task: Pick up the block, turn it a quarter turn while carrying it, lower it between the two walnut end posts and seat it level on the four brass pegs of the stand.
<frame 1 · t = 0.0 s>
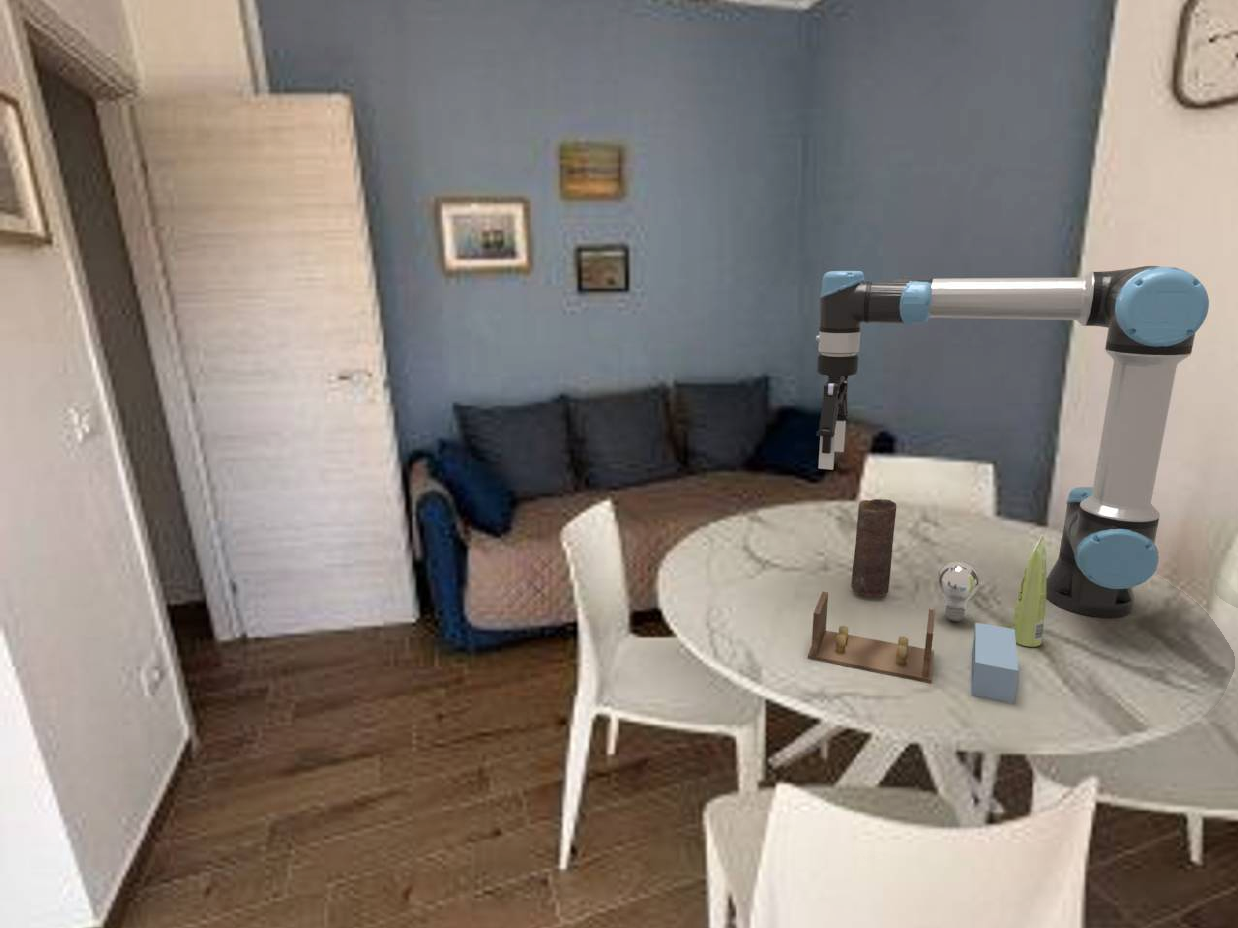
hand: (831, 459, 147), 28 cm above the table, fingers open, 13 cm apart
peg stand: (870, 655, 128), on the table
tube: (1026, 641, 132), on the table
block: (991, 677, 122), on the table
brown rusty cylinder: (869, 594, 151), on the table
light bulb: (953, 621, 140), on the table
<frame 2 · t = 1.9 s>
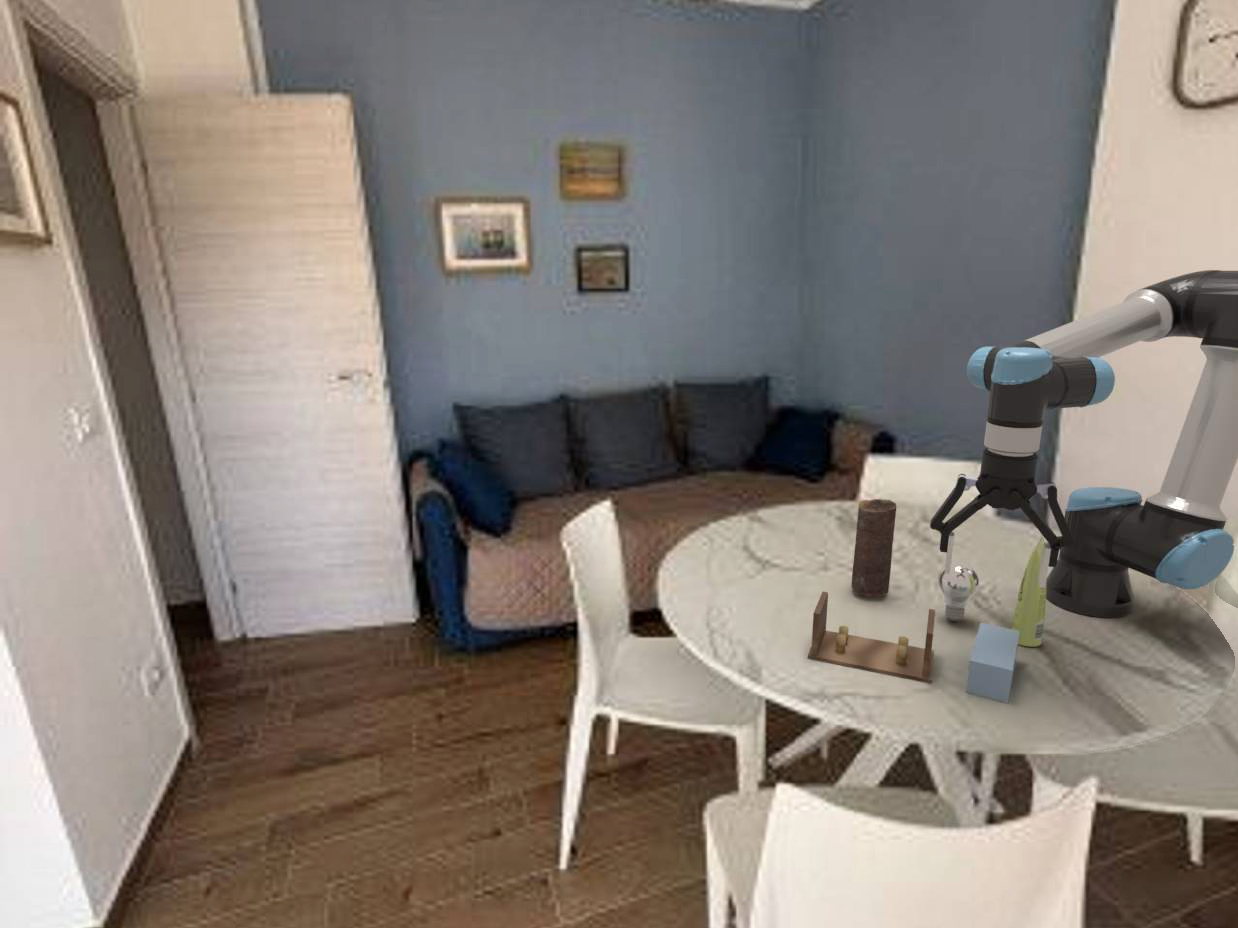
hand: (993, 577, 118), 17 cm above the table, fingers open, 13 cm apart
nothing on the table moved.
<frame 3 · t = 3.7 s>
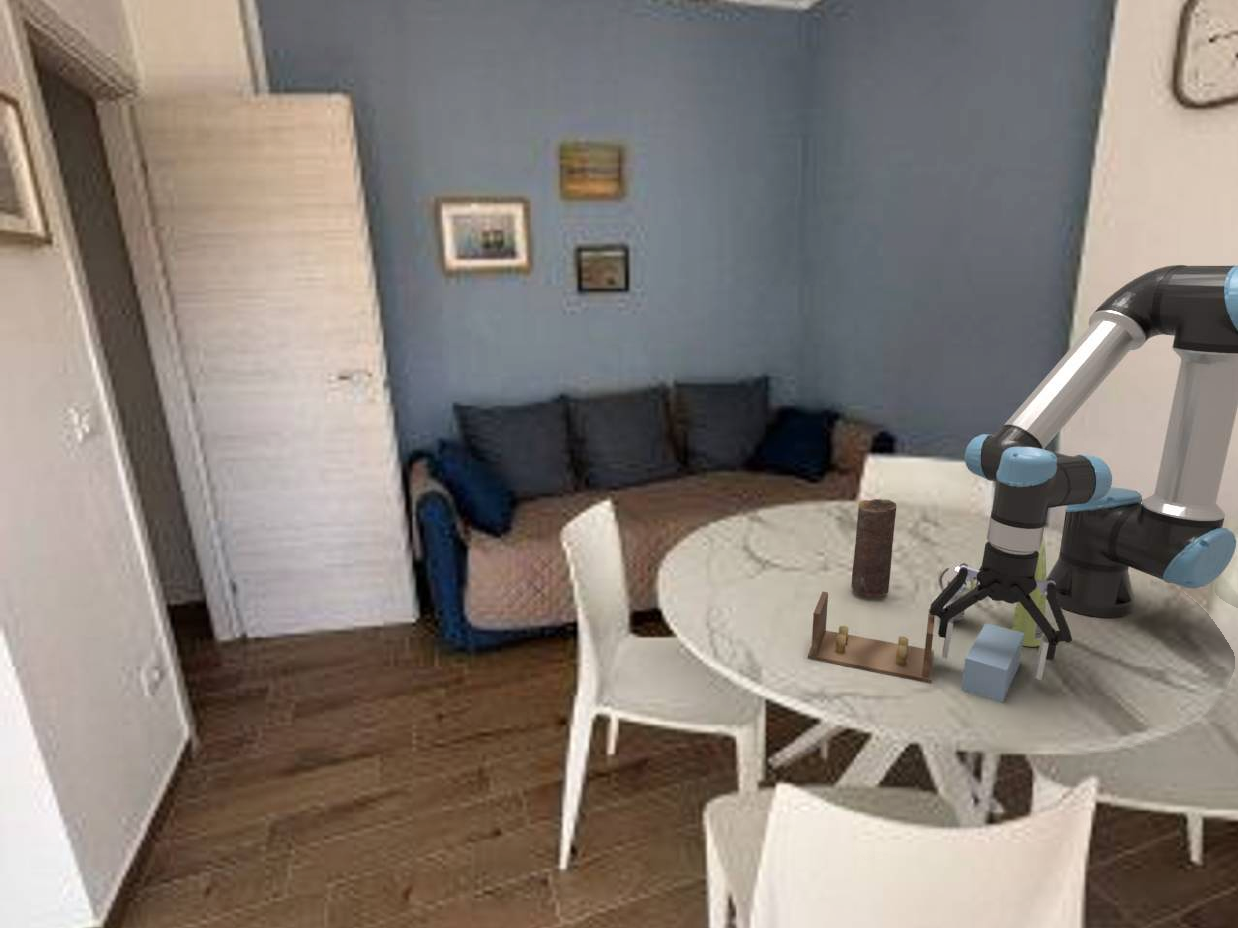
hand: (990, 665, 121), 2 cm above the table, fingers open, 13 cm apart
nothing on the table moved.
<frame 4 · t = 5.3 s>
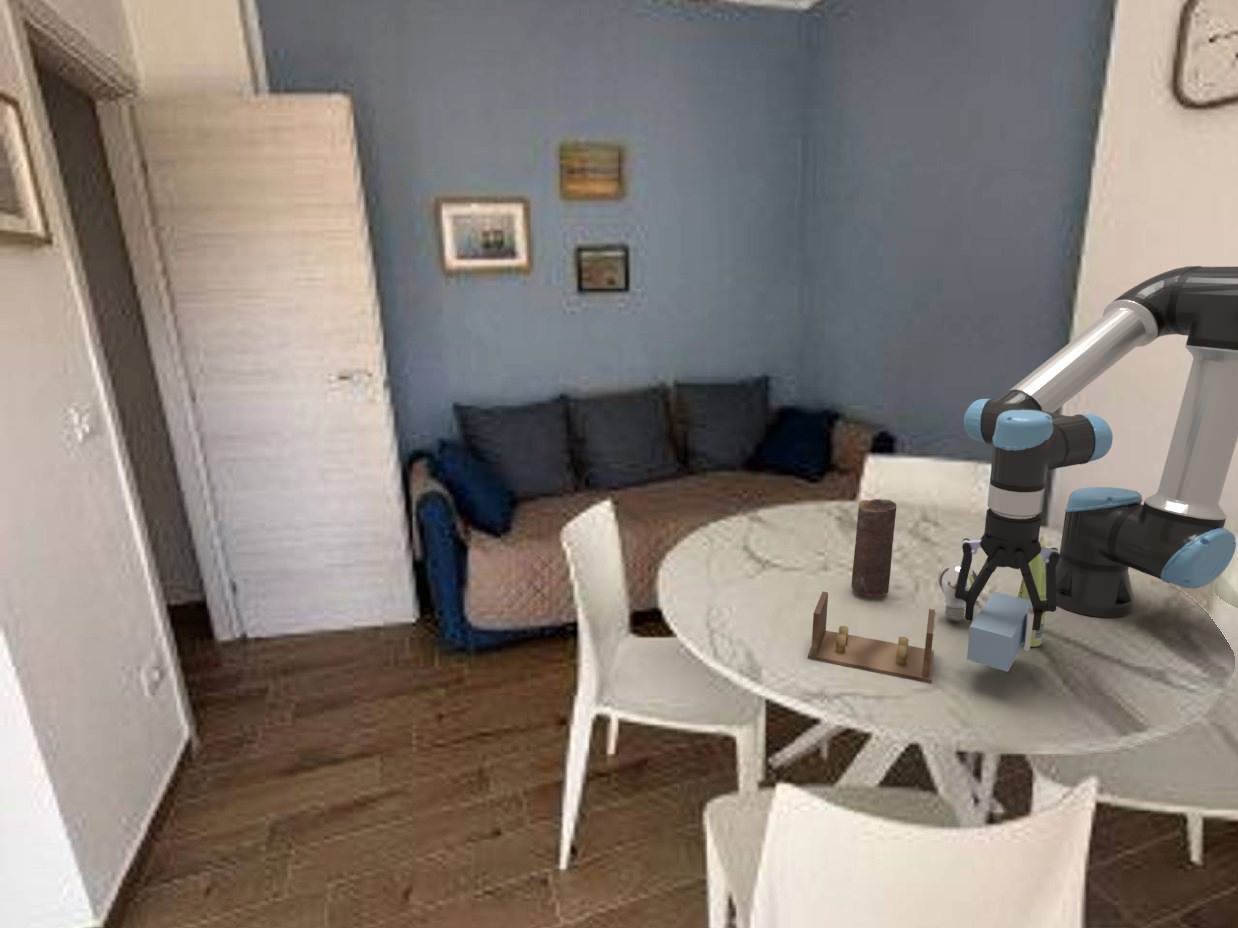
hand: (999, 641, 120), 6 cm above the table, fingers closed on block, 7 cm apart
block: (999, 645, 120), point 5 cm above the table, touching gripper
everything else where it was.
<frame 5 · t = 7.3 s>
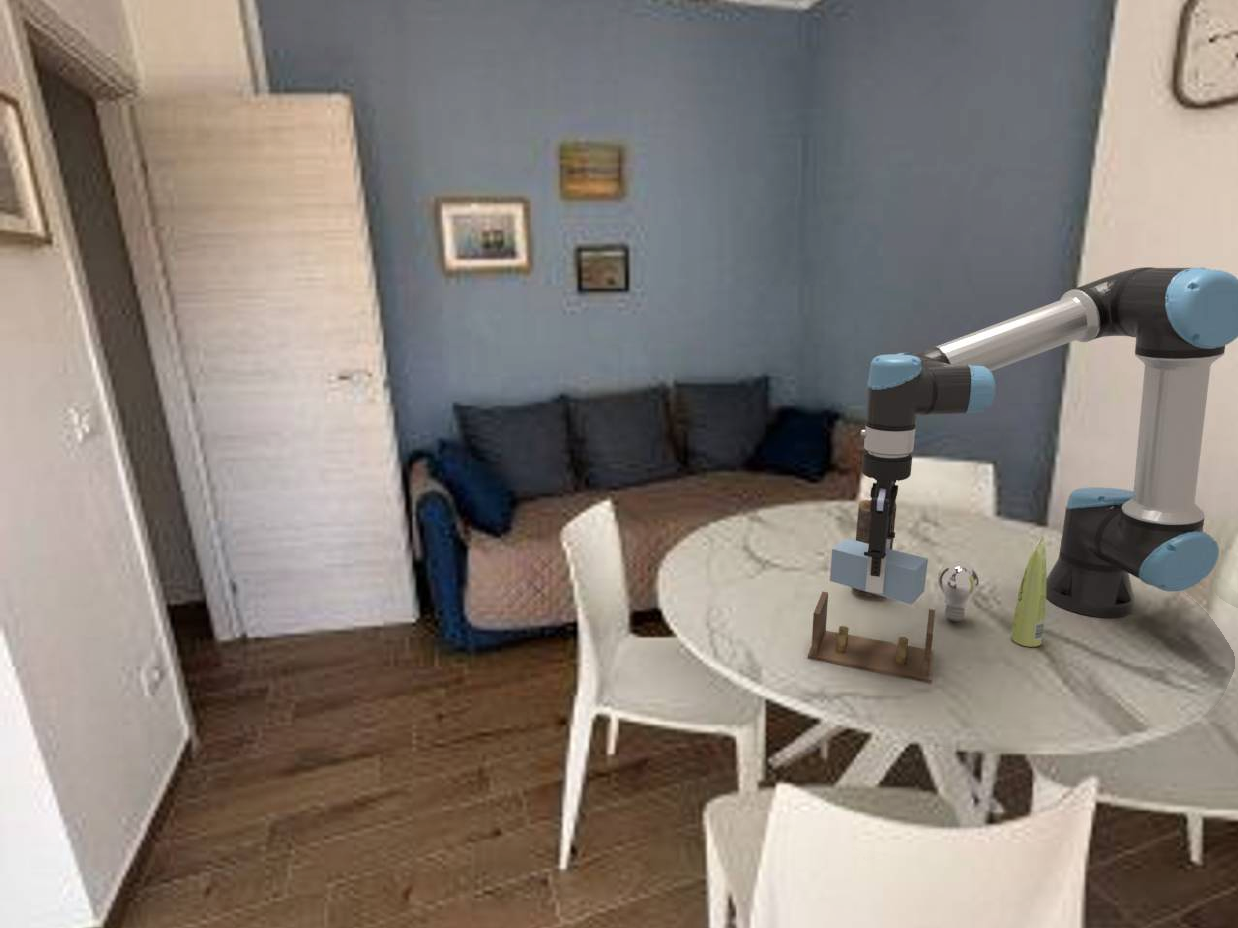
hand: (876, 582, 124), 14 cm above the table, fingers closed on block, 7 cm apart
block: (876, 586, 125), point 13 cm above the table, touching gripper
everything else where it was.
when the fingers open (4 cm above the table, at t = 9.4 s): block stays where it is, resting on peg stand.
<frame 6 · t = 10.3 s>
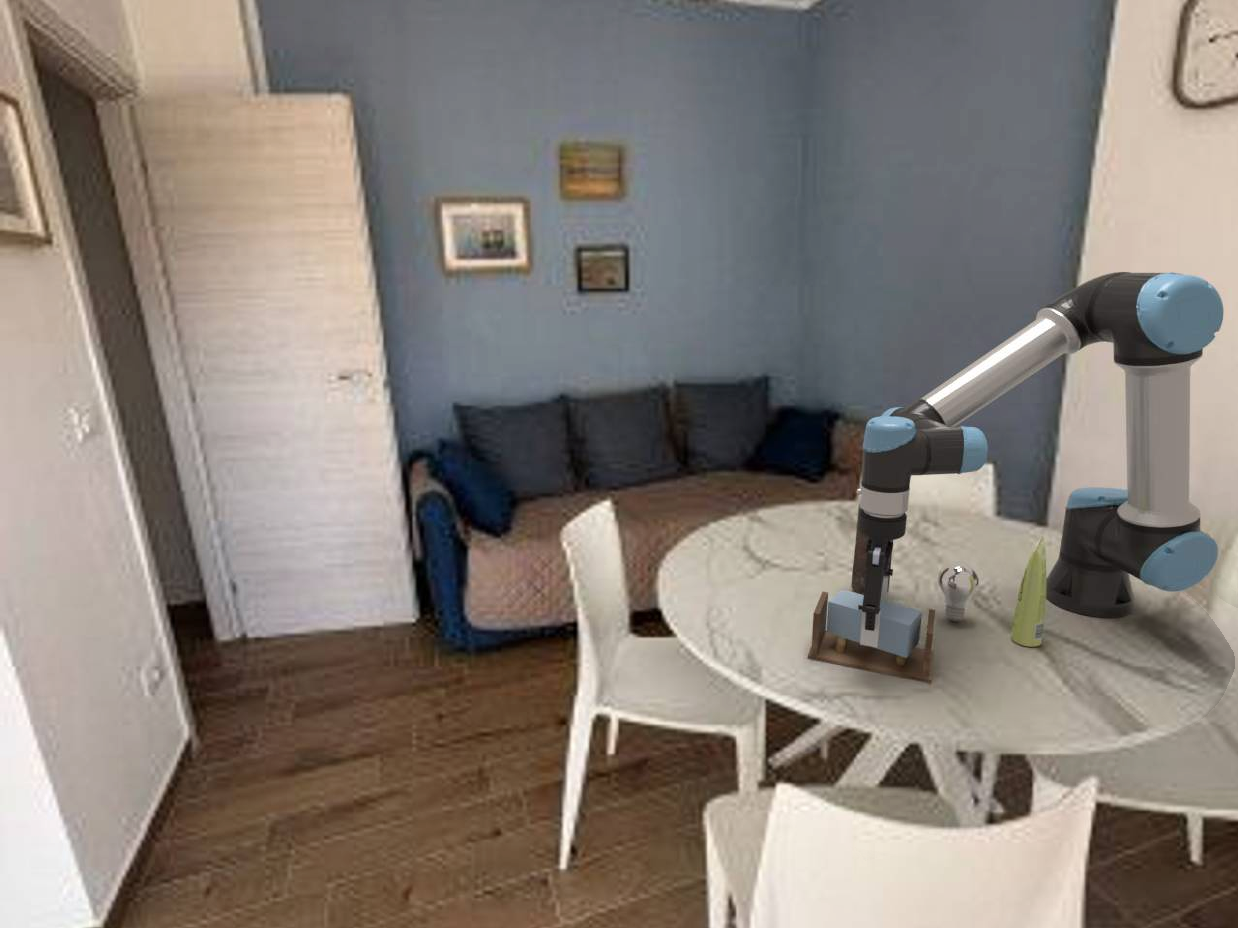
hand: (873, 626, 127), 6 cm above the table, fingers open, 13 cm apart
block: (871, 637, 127), point 4 cm above the table, touching peg stand
everything else where it was.
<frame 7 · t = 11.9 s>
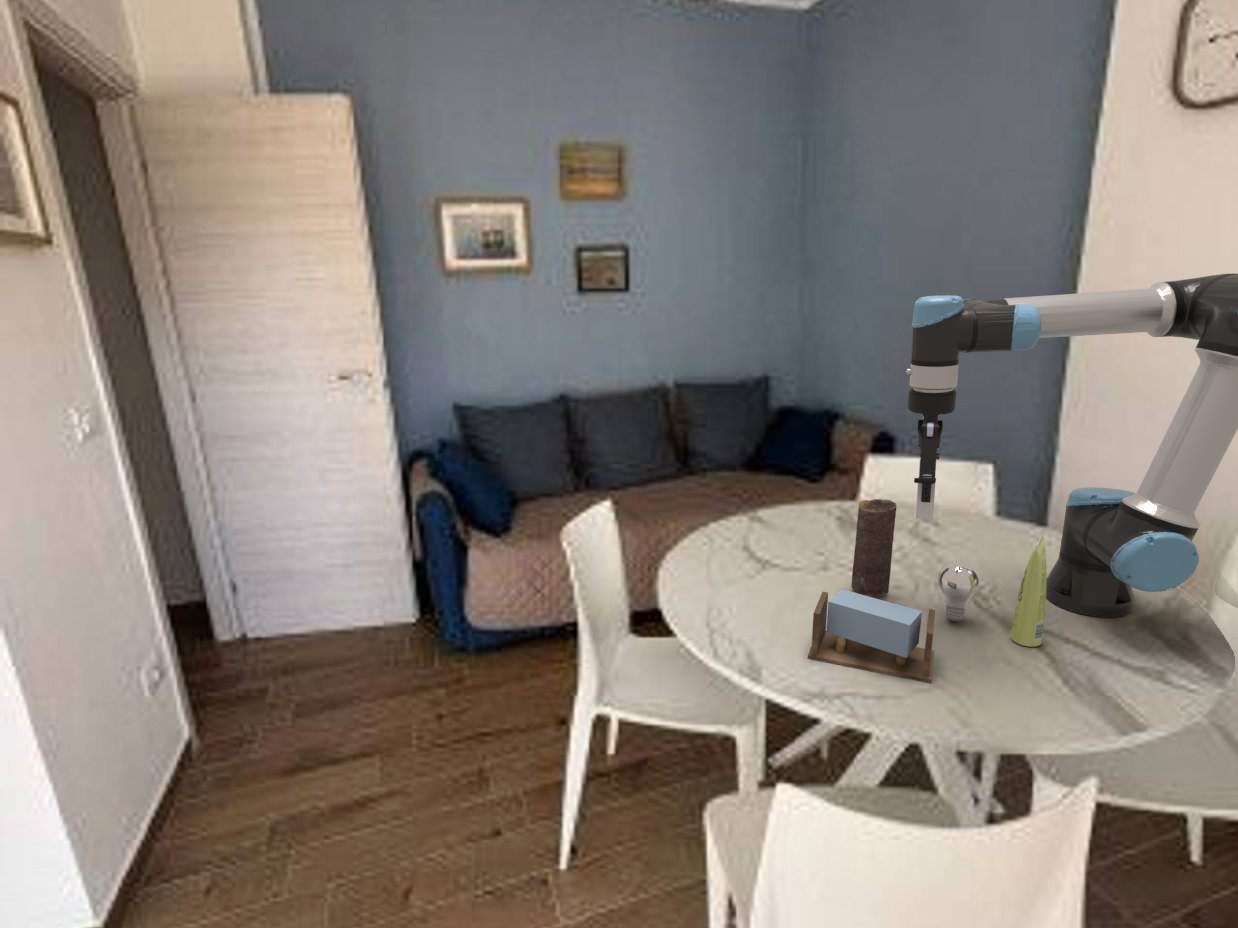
hand: (924, 505, 131), 24 cm above the table, fingers open, 13 cm apart
nothing on the table moved.
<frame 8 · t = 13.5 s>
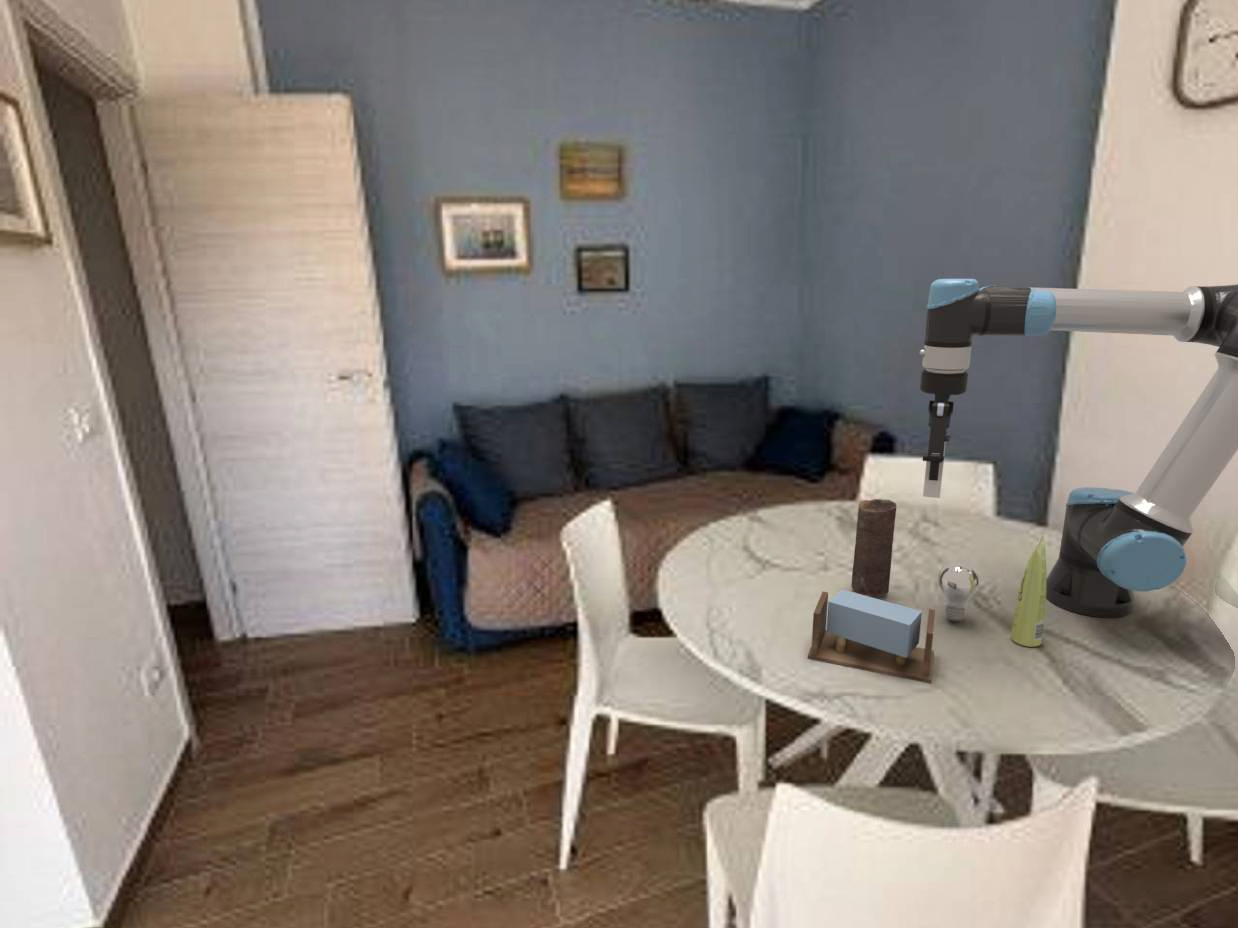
hand: (933, 485, 134), 27 cm above the table, fingers open, 13 cm apart
nothing on the table moved.
at the end: block 0.1 cm off-centre on the peg stand, point 3.6 cm above the peg stand's base; block tilted 0°; the gripper is holding nothing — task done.
